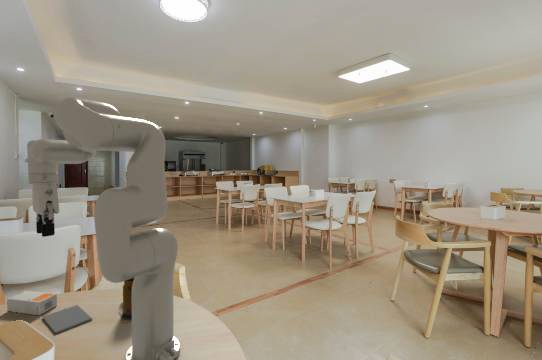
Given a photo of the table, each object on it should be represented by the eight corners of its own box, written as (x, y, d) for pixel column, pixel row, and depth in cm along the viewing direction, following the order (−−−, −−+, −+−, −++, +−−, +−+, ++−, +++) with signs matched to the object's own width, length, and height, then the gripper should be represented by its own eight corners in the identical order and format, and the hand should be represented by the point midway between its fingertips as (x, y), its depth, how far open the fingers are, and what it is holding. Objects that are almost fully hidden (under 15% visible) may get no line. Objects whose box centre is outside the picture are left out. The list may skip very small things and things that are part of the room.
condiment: (142, 304, 94) (142, 269, 93) (150, 315, 88) (149, 278, 87) (118, 311, 90) (117, 274, 89) (124, 323, 83) (123, 284, 82)
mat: (92, 320, 84) (92, 318, 84) (55, 334, 77) (55, 332, 77) (77, 306, 92) (77, 304, 92) (42, 318, 85) (42, 316, 85)
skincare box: (39, 302, 86) (5, 299, 87) (40, 315, 86) (6, 312, 88) (57, 293, 92) (25, 290, 93) (57, 305, 92) (26, 302, 94)
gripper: (66, 180, 89) (68, 236, 90) (49, 177, 99) (51, 227, 100) (36, 181, 83) (38, 241, 84) (21, 177, 93) (24, 231, 94)
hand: (45, 233), depth 92 cm, fingers open, 5 cm apart
